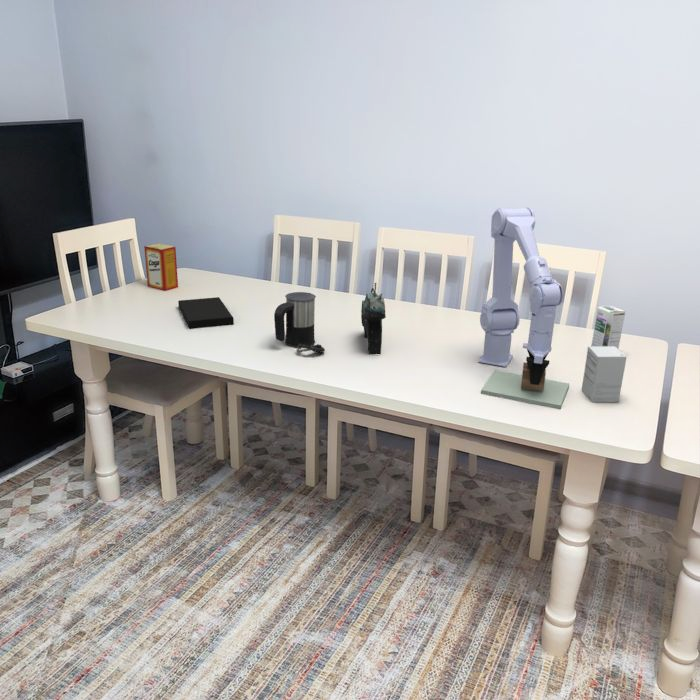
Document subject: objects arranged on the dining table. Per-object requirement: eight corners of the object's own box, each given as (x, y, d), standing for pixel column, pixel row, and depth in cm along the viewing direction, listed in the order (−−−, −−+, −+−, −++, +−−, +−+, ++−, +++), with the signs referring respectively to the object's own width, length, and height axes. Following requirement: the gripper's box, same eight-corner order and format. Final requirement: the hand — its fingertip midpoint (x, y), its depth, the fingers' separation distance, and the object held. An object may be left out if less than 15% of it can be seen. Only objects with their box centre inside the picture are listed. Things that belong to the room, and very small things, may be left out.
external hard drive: (189, 330, 218) (188, 321, 217) (178, 308, 238) (178, 300, 237) (233, 325, 223) (233, 317, 222) (219, 305, 243) (219, 297, 242)
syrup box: (589, 352, 207) (596, 306, 202) (604, 350, 209) (612, 304, 204) (602, 359, 202) (610, 312, 197) (618, 356, 204) (626, 310, 199)
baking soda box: (147, 286, 261) (144, 245, 255) (161, 283, 266) (157, 242, 260) (164, 291, 256) (161, 248, 250) (178, 287, 261) (175, 245, 256)
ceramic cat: (385, 356, 200) (388, 290, 192) (362, 357, 199) (365, 290, 192) (377, 333, 218) (380, 272, 211) (357, 333, 218) (359, 272, 211)
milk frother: (295, 335, 215) (295, 289, 209) (340, 344, 208) (341, 297, 203) (270, 349, 203) (269, 301, 198) (316, 359, 196) (317, 310, 191)
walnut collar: (521, 379, 182) (523, 362, 180) (543, 382, 181) (545, 364, 179) (521, 388, 177) (522, 370, 175) (543, 390, 175) (545, 372, 174)
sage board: (494, 373, 190) (494, 369, 190) (568, 386, 183) (569, 383, 182) (480, 393, 177) (481, 389, 177) (560, 409, 170) (560, 405, 169)
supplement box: (608, 390, 181) (615, 345, 177) (619, 402, 174) (627, 356, 170) (580, 390, 181) (587, 345, 176) (590, 402, 174) (598, 356, 169)
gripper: (525, 319, 181) (519, 367, 185) (524, 337, 167) (517, 388, 172) (553, 322, 179) (546, 370, 184) (554, 340, 166) (547, 392, 171)
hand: (534, 379), depth 178 cm, fingers closed on walnut collar, 6 cm apart
